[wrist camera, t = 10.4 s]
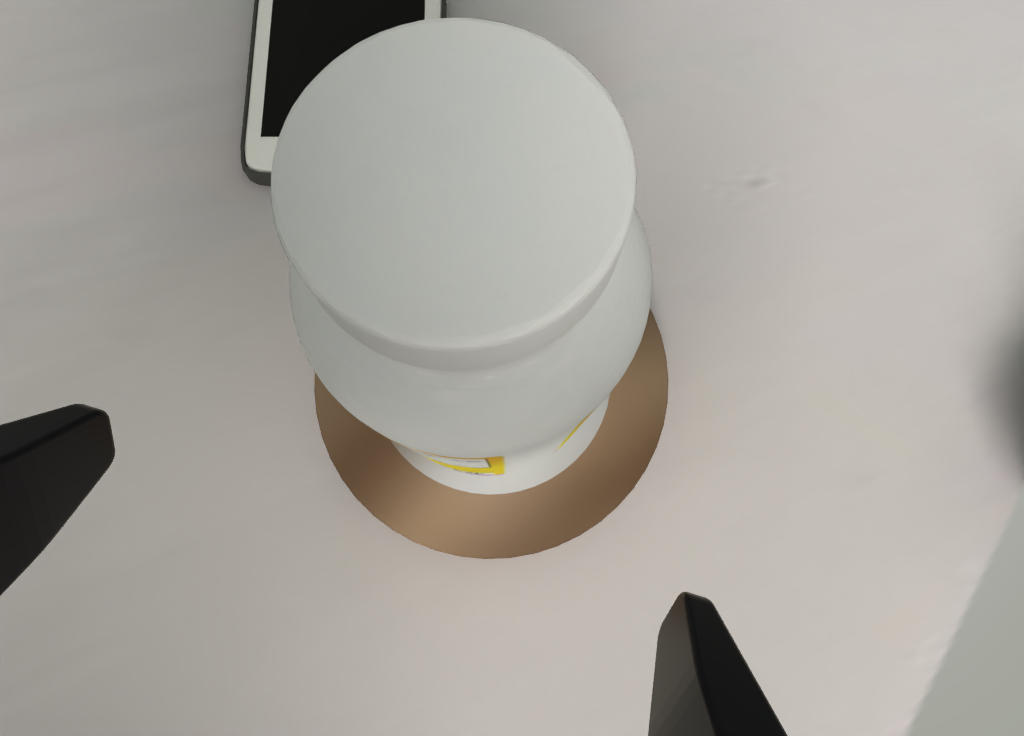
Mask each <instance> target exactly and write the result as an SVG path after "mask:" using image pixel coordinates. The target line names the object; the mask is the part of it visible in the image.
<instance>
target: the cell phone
mask: <svg viewBox="0 0 1024 736" xmlns="http://www.w3.org/2000/svg"><path fill="white" fill-rule="evenodd" d="M439 18H446V0H255V3H254V13H253V23H252V34H251V44H250V54H249V65H248V75H247V86H246V96H245V106H244V117H243V127H242V137H241V163H242V167H243V171H244V172H245V173H246V175H247V176H248V178H249V179H250V180H251V181H253V182H254V183H256V184H259V185H265V186H271V171H272V163H273V157H274V152H275V149H276V145H277V141H278V138H279V135H280V133H281V130H282V128H283V125H284V122H285V120H286V118H287V116H288V114H289V112H290V110H291V108H292V106H293V105H294V103H295V102H296V101H297V99H298V98H299V96H300V95H301V94H302V92H303V91H304V89H305V88H306V87H307V86H308V85H309V84H310V83H311V81H312V80H313V79H314V78H315V77H316V76H317V75H318V74H319V73H320V72H321V71H322V70H323V69H324V68H325V67H326V66H328V65H329V64H330V63H331V62H332V61H333V60H334V59H336V58H337V57H338V56H340V55H341V54H343V53H344V52H345V51H347V50H348V49H350V48H351V47H352V46H354V45H355V44H357V43H359V42H361V41H363V40H365V39H366V38H369V37H371V36H373V35H375V34H377V33H379V32H382V31H385V30H388V29H391V28H394V27H396V26H399V25H403V24H408V23H412V22H416V21H420V20H425V19H439Z"/></svg>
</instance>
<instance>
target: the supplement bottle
mask: <svg viewBox="0 0 1024 736" xmlns="http://www.w3.org/2000/svg"><path fill="white" fill-rule="evenodd" d="M636 179H637V174H636V166H635V159H634V151H633V146H632V143H631V139H630V136H629V133H628V129H627V127H626V125H625V122H624V120H623V118H622V115H621V114H620V112H619V110H618V109H617V107H616V105H615V103H614V102H613V100H612V98H611V96H610V95H609V94H608V92H607V91H606V90H605V88H604V87H603V86H602V84H601V83H600V82H599V81H598V80H597V79H596V78H595V77H594V76H593V75H592V74H591V73H590V72H589V71H588V70H587V69H586V68H585V67H584V66H583V65H582V64H581V63H580V62H579V61H578V60H577V59H575V58H574V57H573V56H572V55H571V54H569V53H568V52H566V51H565V50H563V49H562V48H561V47H559V46H558V45H556V44H554V43H552V42H550V41H549V40H547V39H545V38H543V37H541V36H539V35H537V34H535V33H533V32H530V31H527V30H524V29H522V28H519V27H516V26H512V25H509V24H505V23H501V22H496V21H491V20H484V19H476V18H439V19H425V20H420V21H416V22H412V23H408V24H403V25H399V26H396V27H394V28H391V29H388V30H385V31H382V32H379V33H377V34H375V35H373V36H371V37H369V38H366V39H365V40H363V41H361V42H359V43H357V44H355V45H354V46H352V47H351V48H350V49H348V50H347V51H345V52H344V53H343V54H341V55H340V56H338V57H337V58H336V59H334V60H333V61H332V62H331V63H330V64H329V65H328V66H326V67H325V68H324V69H323V70H322V71H321V72H320V73H319V74H318V75H317V76H316V77H315V78H314V79H313V80H312V81H311V83H310V84H309V85H308V86H307V87H306V88H305V89H304V91H303V92H302V94H301V95H300V96H299V98H298V99H297V101H296V102H295V103H294V105H293V106H292V108H291V110H290V112H289V114H288V116H287V118H286V120H285V122H284V125H283V128H282V130H281V133H280V135H279V138H278V141H277V145H276V149H275V152H274V157H273V163H272V171H271V203H272V209H273V216H274V223H275V226H276V229H277V232H278V236H279V238H280V241H281V244H282V246H283V248H284V250H285V253H286V255H287V257H288V259H289V261H290V262H291V266H290V300H291V307H292V312H293V317H294V322H295V325H296V329H297V332H298V335H299V338H300V341H301V344H302V346H303V349H304V351H305V353H306V355H307V358H308V360H309V362H310V363H311V365H312V367H313V369H314V370H315V372H316V374H317V375H318V377H319V379H320V380H321V381H322V383H323V384H324V386H325V387H326V388H327V390H328V391H329V392H330V393H331V394H332V395H333V396H334V397H335V398H336V400H337V401H338V402H339V403H340V404H341V405H342V406H343V407H344V408H345V409H346V410H347V411H349V412H350V413H351V414H352V415H354V416H355V417H356V418H357V419H359V420H360V421H361V422H363V423H364V424H366V425H367V426H369V427H370V428H372V429H373V430H375V431H377V432H378V433H380V434H382V435H383V436H385V437H387V438H388V439H390V440H392V441H394V442H397V443H399V444H401V445H403V446H405V447H407V448H409V449H411V450H412V451H414V452H416V453H419V454H420V455H422V456H424V457H426V458H428V459H430V460H432V461H433V462H435V463H437V464H439V465H442V466H444V467H446V468H449V469H451V470H454V471H458V472H462V473H466V474H471V475H481V476H496V475H505V474H509V473H514V472H518V471H521V470H524V469H527V468H529V467H531V466H533V465H536V464H538V463H539V462H541V461H543V460H544V459H546V458H547V457H549V456H550V455H551V454H553V453H554V452H555V451H557V450H558V449H559V448H560V447H561V446H562V445H563V444H564V443H565V442H566V441H567V440H568V439H569V438H570V437H571V436H572V435H573V434H574V432H575V431H576V430H577V429H578V428H579V427H580V425H581V424H582V423H583V422H584V421H585V420H586V419H587V418H588V417H589V415H590V414H591V413H592V412H593V411H594V410H595V409H596V408H597V407H598V406H599V405H600V404H601V403H602V402H603V401H604V400H605V399H606V398H607V396H608V395H609V394H610V393H611V391H612V390H613V388H614V387H615V386H616V385H617V383H618V382H619V381H620V379H621V378H622V376H623V375H624V373H625V372H626V370H627V368H628V366H629V365H630V363H631V361H632V359H633V358H634V355H635V353H636V351H637V349H638V347H639V344H640V342H641V339H642V336H643V333H644V330H645V327H646V323H647V319H648V314H649V309H650V303H651V294H652V265H651V257H650V249H649V245H648V241H647V237H646V233H645V230H644V227H643V224H642V222H641V220H640V217H639V215H638V212H637V210H636V208H635V206H634V205H635V198H636Z"/></svg>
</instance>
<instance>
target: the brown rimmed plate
mask: <svg viewBox="0 0 1024 736" xmlns="http://www.w3.org/2000/svg"><path fill="white" fill-rule="evenodd" d="M667 400H668V372H667V361H666V355H665V350H664V346H663V342H662V337H661V334H660V332H659V329H658V326H657V323H656V321H655V318H654V315H653V313H652V312H651V310H650V309H649V314H648V319H647V323H646V327H645V330H644V333H643V336H642V339H641V342H640V344H639V347H638V349H637V351H636V353H635V355H634V358H633V359H632V361H631V363H630V365H629V366H628V368H627V370H626V372H625V373H624V375H623V376H622V378H621V379H620V381H619V382H618V383H617V385H616V386H615V387H614V388H613V390H612V391H611V393H610V394H609V395H608V396H607V398H606V399H605V400H604V401H603V402H602V403H601V404H600V405H599V406H598V407H597V408H596V409H595V410H594V411H593V412H592V413H591V414H590V415H589V417H588V418H587V419H586V420H585V421H584V422H583V423H582V424H581V425H580V427H579V428H578V429H577V430H576V431H575V432H574V434H573V435H572V436H571V437H570V438H569V439H568V440H567V441H566V442H565V443H564V444H563V445H562V446H561V447H560V448H559V449H558V450H557V451H555V452H554V453H553V454H551V455H550V456H549V457H547V458H546V459H544V460H543V461H541V462H539V463H538V464H536V465H533V466H531V467H529V468H527V469H524V470H521V471H518V472H514V473H509V474H505V475H496V476H481V475H471V474H466V473H462V472H458V471H454V470H451V469H449V468H446V467H444V466H442V465H439V464H437V463H435V462H433V461H432V460H430V459H428V458H426V457H424V456H422V455H420V454H419V453H416V452H414V451H412V450H411V449H409V448H407V447H405V446H403V445H401V444H399V443H397V442H394V441H392V440H390V439H388V438H387V437H385V436H383V435H382V434H380V433H378V432H377V431H375V430H373V429H372V428H370V427H369V426H367V425H366V424H364V423H363V422H361V421H360V420H359V419H357V418H356V417H355V416H354V415H352V414H351V413H350V412H349V411H347V410H346V409H345V408H344V407H343V406H342V405H341V404H340V403H339V402H338V401H337V400H336V398H335V397H334V396H333V395H332V394H331V393H330V392H329V391H328V390H327V388H326V387H325V386H324V384H323V383H322V381H321V380H320V379H319V377H318V375H317V374H316V372H315V401H316V412H317V417H318V422H319V426H320V430H321V434H322V438H323V440H324V443H325V446H326V448H327V451H328V453H329V456H330V458H331V460H332V462H333V464H334V466H335V467H336V469H337V471H338V473H339V475H340V476H341V478H342V480H343V481H344V482H345V484H346V485H347V486H348V488H349V489H350V490H351V492H352V493H353V494H354V496H355V497H356V498H357V499H358V500H359V501H360V502H361V503H362V504H363V505H364V506H365V507H366V508H367V509H368V510H369V511H370V512H371V513H372V514H373V515H374V516H375V517H376V518H378V519H379V520H380V521H382V522H383V523H384V524H386V525H387V526H388V527H390V528H391V529H392V530H394V531H396V532H397V533H399V534H401V535H403V536H405V537H406V538H408V539H410V540H412V541H413V542H416V543H418V544H421V545H423V546H426V547H429V548H431V549H434V550H436V551H440V552H444V553H448V554H453V555H457V556H462V557H472V558H482V559H494V558H512V557H518V556H523V555H529V554H534V553H537V552H541V551H544V550H547V549H550V548H553V547H556V546H559V545H561V544H563V543H565V542H567V541H569V540H571V539H573V538H575V537H577V536H579V535H581V534H583V533H584V532H586V531H587V530H589V529H590V528H592V527H593V526H595V525H596V524H598V523H599V522H600V521H602V520H603V519H604V518H605V517H606V516H607V515H608V514H610V513H611V512H612V511H613V510H614V509H615V508H616V507H618V506H619V504H620V503H621V502H622V501H623V500H624V499H625V497H626V496H627V495H628V494H629V493H630V492H631V491H632V489H633V488H634V487H635V485H636V484H637V482H638V481H639V479H640V478H641V476H642V474H643V473H644V471H645V470H646V468H647V466H648V464H649V462H650V460H651V458H652V456H653V454H654V451H655V449H656V447H657V444H658V441H659V438H660V435H661V431H662V428H663V425H664V419H665V414H666V408H667Z"/></svg>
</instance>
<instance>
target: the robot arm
mask: <svg viewBox="0 0 1024 736" xmlns="http://www.w3.org/2000/svg"><path fill="white" fill-rule="evenodd" d="M114 455H115V447H114V441H113V436H112V430H111V425H110V419H109V416H108V415H107V413H106V412H105V411H103V410H100V409H97V408H94V407H91V406H87V405H84V404H74V405H69V406H66V407H62V408H59V409H55V410H52V411H48V412H45V413H41V414H38V415H34V416H31V417H27V418H24V419H20V420H17V421H13V422H10V423H6V424H3V425H0V596H1V595H2V593H3V592H4V591H5V590H6V589H7V588H8V587H9V586H10V585H11V584H12V583H13V582H14V581H15V580H16V579H17V578H18V577H19V576H20V575H21V574H22V572H23V571H24V570H25V569H26V568H27V567H28V566H29V565H30V564H31V563H32V562H33V561H34V560H35V559H36V558H37V556H38V555H39V554H40V553H41V552H42V551H43V550H44V549H45V547H46V546H47V545H48V544H49V543H50V541H51V540H52V539H53V538H54V537H55V535H56V534H57V533H58V532H59V530H60V529H61V528H62V527H63V525H64V524H65V523H66V522H67V520H68V519H69V518H70V516H71V515H72V514H73V513H74V511H75V510H76V509H77V508H78V506H79V505H80V504H81V502H82V501H83V500H84V499H85V497H86V496H87V495H88V494H89V492H90V491H91V490H92V488H93V487H94V486H95V485H96V483H97V482H98V481H99V480H100V478H101V477H102V476H103V474H104V473H105V472H106V471H107V469H108V468H109V467H110V465H111V463H112V461H113V459H114ZM648 736H787V734H786V732H785V730H784V729H783V727H782V725H781V723H780V722H779V720H778V718H777V716H776V714H775V713H774V711H773V709H772V707H771V706H770V704H769V702H768V700H767V698H766V697H765V695H764V693H763V691H762V690H761V688H760V686H759V684H758V682H757V681H756V679H755V677H754V675H753V674H752V672H751V670H750V668H749V666H748V665H747V663H746V661H745V659H744V658H743V656H742V654H741V652H740V651H739V649H738V647H737V645H736V643H735V642H734V640H733V638H732V636H731V635H730V633H729V631H728V629H727V627H726V626H725V624H724V622H723V620H722V619H721V617H720V615H719V613H718V611H717V610H716V608H715V606H714V605H713V603H712V602H711V601H710V600H709V599H707V598H705V597H701V596H698V595H695V594H692V593H689V592H682V593H681V594H680V595H679V596H678V597H677V599H676V601H675V602H674V604H673V606H672V607H671V609H670V611H669V613H668V614H667V616H666V618H665V619H664V621H663V623H662V625H661V628H660V631H659V635H658V642H657V652H656V662H655V672H654V682H653V692H652V702H651V712H650V722H649V733H648Z"/></svg>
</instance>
